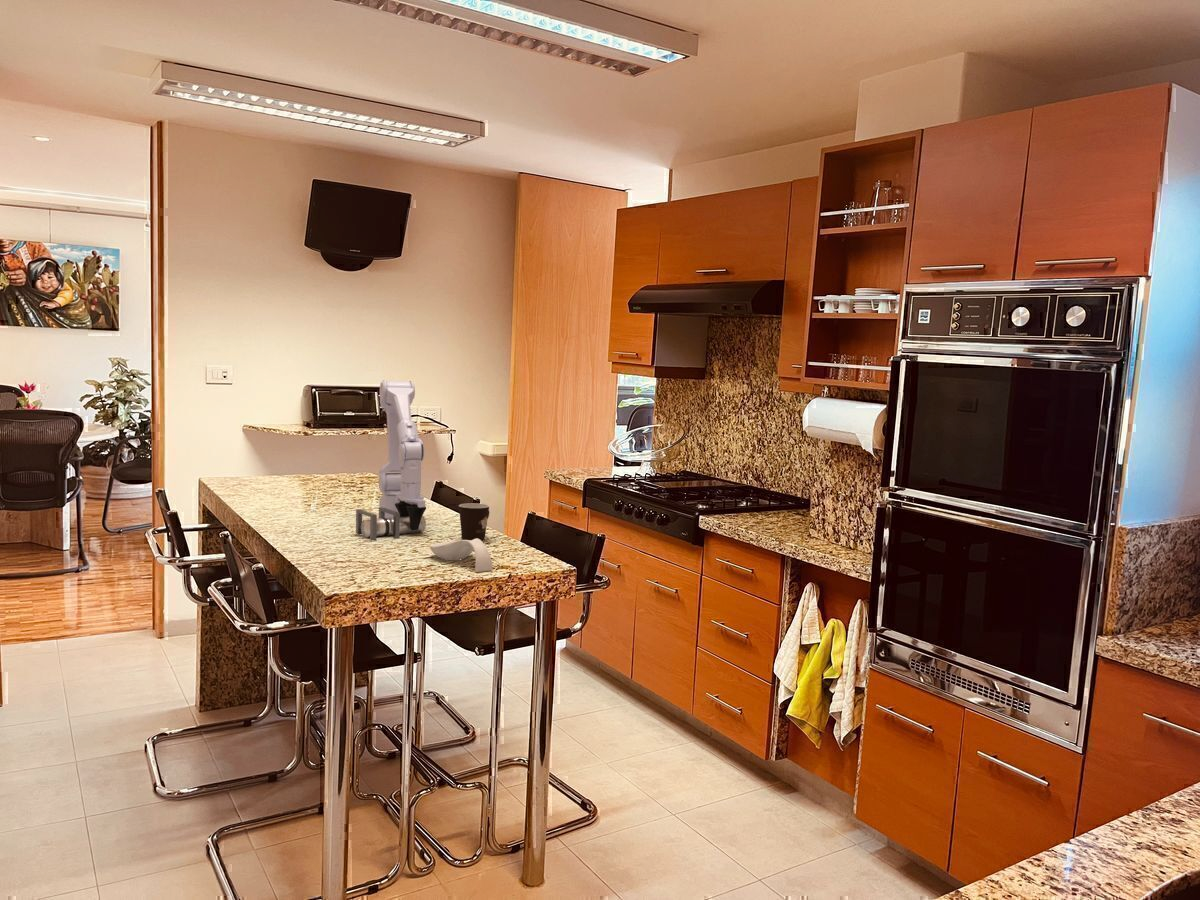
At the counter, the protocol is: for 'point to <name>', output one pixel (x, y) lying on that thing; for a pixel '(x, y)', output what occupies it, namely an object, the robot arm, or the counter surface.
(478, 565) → the spoon rest
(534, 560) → the counter surface
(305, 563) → the counter surface
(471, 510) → the coffee mug
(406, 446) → the robot arm
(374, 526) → the collar
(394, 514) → the collar
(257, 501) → the counter surface
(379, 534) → the tube
